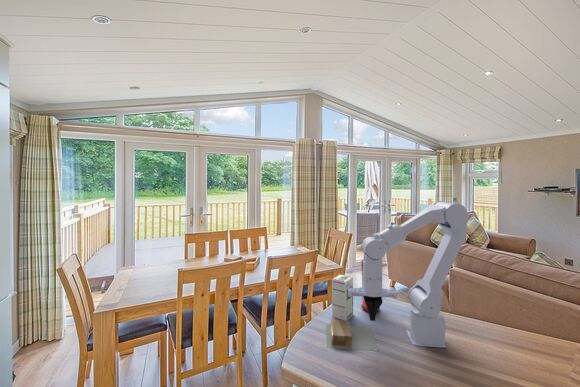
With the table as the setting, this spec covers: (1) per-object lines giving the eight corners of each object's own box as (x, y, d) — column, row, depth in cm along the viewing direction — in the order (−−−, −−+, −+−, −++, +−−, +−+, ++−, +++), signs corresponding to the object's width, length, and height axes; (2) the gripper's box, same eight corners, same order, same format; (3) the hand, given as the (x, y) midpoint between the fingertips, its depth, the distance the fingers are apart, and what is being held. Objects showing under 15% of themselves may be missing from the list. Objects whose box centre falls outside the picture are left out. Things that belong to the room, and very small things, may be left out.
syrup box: (346, 322, 100) (346, 282, 99) (331, 317, 104) (331, 278, 103) (353, 315, 105) (353, 277, 104) (338, 311, 108) (339, 273, 107)
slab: (349, 321, 94) (330, 320, 95) (351, 336, 85) (331, 335, 86) (348, 329, 95) (330, 328, 95) (351, 346, 86) (331, 344, 86)
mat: (370, 328, 96) (370, 327, 96) (378, 352, 83) (378, 350, 83) (326, 325, 98) (326, 324, 98) (326, 348, 85) (326, 347, 85)
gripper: (393, 272, 91) (393, 313, 92) (347, 271, 93) (347, 311, 94) (399, 281, 84) (398, 325, 85) (349, 279, 86) (349, 323, 87)
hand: (372, 319), depth 89 cm, fingers closed
